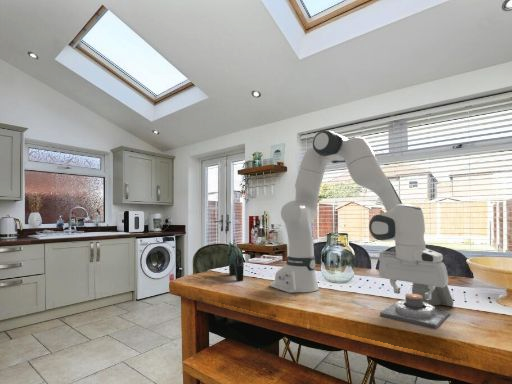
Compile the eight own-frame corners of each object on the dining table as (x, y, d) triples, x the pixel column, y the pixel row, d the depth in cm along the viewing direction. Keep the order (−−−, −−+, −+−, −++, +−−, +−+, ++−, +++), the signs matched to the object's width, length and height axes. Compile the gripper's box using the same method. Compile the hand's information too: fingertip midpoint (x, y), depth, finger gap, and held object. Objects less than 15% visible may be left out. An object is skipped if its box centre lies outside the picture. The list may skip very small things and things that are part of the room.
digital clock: (456, 307, 102) (454, 276, 102) (431, 308, 101) (429, 277, 102) (428, 294, 118) (426, 267, 118) (406, 295, 117) (404, 268, 118)
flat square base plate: (380, 315, 96) (379, 306, 96) (398, 303, 107) (397, 295, 107) (436, 328, 84) (435, 317, 85) (449, 313, 96) (449, 304, 96)
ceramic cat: (226, 274, 165) (226, 238, 166) (238, 273, 167) (237, 237, 168) (234, 282, 146) (234, 241, 147) (247, 280, 148) (246, 240, 149)
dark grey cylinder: (403, 311, 96) (402, 296, 96) (409, 307, 99) (408, 292, 100) (420, 315, 92) (419, 299, 93) (425, 311, 96) (424, 295, 96)
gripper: (375, 251, 102) (376, 291, 101) (443, 257, 88) (445, 305, 87) (382, 249, 107) (383, 288, 106) (448, 255, 92) (450, 300, 91)
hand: (412, 296), depth 96 cm, fingers open, 8 cm apart
